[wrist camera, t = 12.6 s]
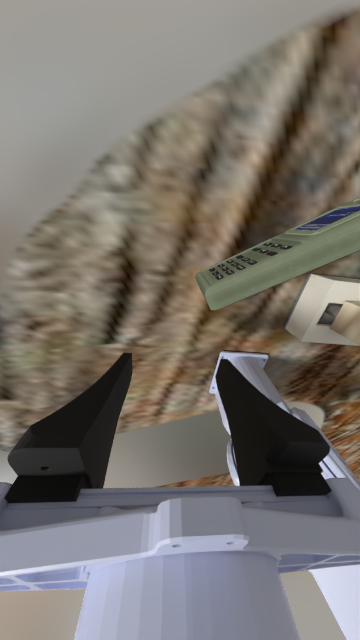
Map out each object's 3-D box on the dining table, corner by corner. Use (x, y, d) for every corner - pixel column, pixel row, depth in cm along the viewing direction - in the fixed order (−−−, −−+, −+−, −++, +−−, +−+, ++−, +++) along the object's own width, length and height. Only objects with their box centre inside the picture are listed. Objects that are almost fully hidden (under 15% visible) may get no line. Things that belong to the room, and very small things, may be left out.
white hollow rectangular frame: (415, 285, 22) (457, 294, 19) (376, 334, 26) (406, 349, 23) (308, 273, 21) (334, 280, 18) (283, 327, 25) (300, 341, 21)
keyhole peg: (330, 319, 24) (396, 353, 17) (302, 317, 23) (357, 351, 16) (346, 290, 22) (429, 315, 15) (316, 287, 21) (385, 311, 14)
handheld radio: (192, 270, 20) (421, 163, 16) (201, 293, 22) (412, 200, 18) (201, 288, 15) (559, 129, 11) (213, 317, 16) (528, 187, 12)
